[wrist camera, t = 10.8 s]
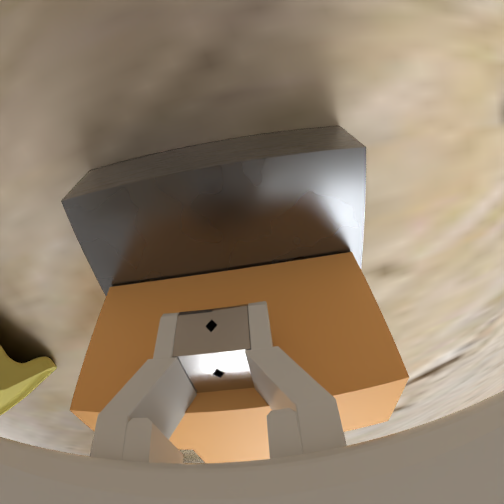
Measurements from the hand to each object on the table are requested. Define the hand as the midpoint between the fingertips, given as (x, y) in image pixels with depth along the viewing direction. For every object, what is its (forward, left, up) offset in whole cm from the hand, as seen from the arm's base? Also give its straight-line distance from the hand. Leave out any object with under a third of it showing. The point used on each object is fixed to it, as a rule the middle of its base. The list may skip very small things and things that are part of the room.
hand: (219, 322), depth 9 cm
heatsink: (-9, 0, -7) cm, 11 cm away
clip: (-4, 0, -3) cm, 5 cm away
